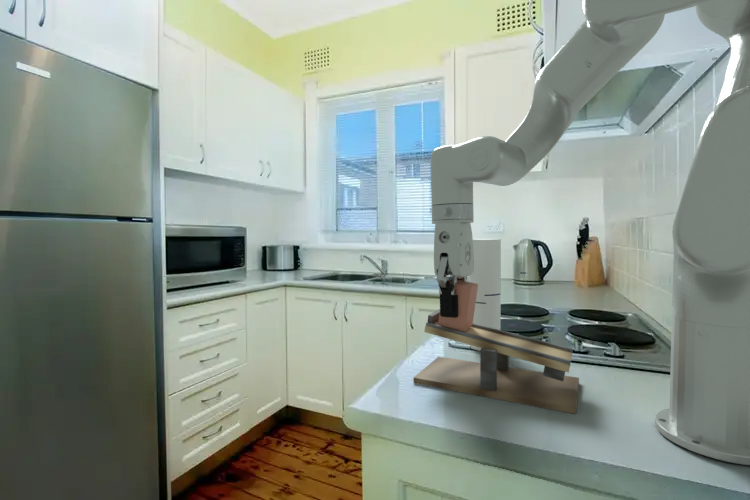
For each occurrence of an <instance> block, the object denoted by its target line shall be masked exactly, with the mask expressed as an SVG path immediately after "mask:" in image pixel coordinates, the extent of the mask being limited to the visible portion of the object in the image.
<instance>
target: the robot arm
mask: <svg viewBox="0 0 750 500" xmlns="http://www.w3.org/2000/svg"><path fill="white" fill-rule="evenodd" d="M693 7H695V11H696V16H697V18H698V20H699V21H700V23H701V24H702V25H703V26H704V27H706V29H707V30H710V31H711V32H713V33H714V34H716V35H719V36H721V38H723V39H724V40H725V41H726V42H727V43H728V44H729V45H728V46H729V48H730V57H729V60H728V62H727V67H726V70H725V73H724V77H723V81H722V82H723V83H722V87H721V89H720V92H719V94H718V98H717V99H718V100H717V102H716V104H715V107H714V108H713V109H712V110H711V112H709V114H708V116H707V117H706V119H705V121H704V123H703V126H702V128H701V132H700V134H699V137H698V138H699V139H698V141H697V145H696V148H695V152H694V155H693V159H692V162H691V164H690V168H689V171H688V174H687V178H686V182H685V183H684V188H683V191H682V194H681V199H680V201H679V204H678V208H677V211H676V214H675V217H674V220H673V225H672V242H673V243H672V244H673V260H672V261H673V263H672V264H673V265H672V266H673V267H672V268H673V269H672V270H673V272H672V274H673V275H672V303H671V305H672V307H671V308H672V309H671V330H670V331H671V336H670V337H671V341H670V374H669V375H670V376H669V377H670V378H669V407H668V408H667V409H663V410H660V411H658V412H657V413H656V414H655V416H654V417H655V419H654V425H655V428H656V429H657V430H658V432H659V433H660V434H661V435H662V436H663V437H665V438H666V439H668V440H669V441H671V442H672V443H674V444H676V445H678V446H680V447H681V448H684V449H686V450H688V451H691V452H694V453H696V454H699V455H701V456H703V457H704V456H705V457H707V458H710V459H711V458H712V459H714V460H718V461H722V462H727V463H732V464H737V465H742V466H743V465H744V466H750V0H582V11H583V15H584V17H585V20H584V22H582V23H581V25H580V26H579V27H578V28H577V29H576V30H575V32H574V33H573V34H572V35H571V36H570V37H569V38H568V39H567V40H566V41H565V43H564V44H563V45H562V46H561V47H560V48H559V49H558V50H557V51H556V53H555V54H554V55H553V56H552V57H551V58H550V59H549V60H548V62H547V63H546V64H544V66H542V68H541V69H540V70H539V72H538V74H537V76H536V79H535V81H534V88H533V95H532V101H531V104H530V107H529V110H528V112H527V114H526V116H525V117H524V119H522V121H521V122H520V124H519V126H518V127H517V128H515V130H514V131H513V132H512V133H511V134H510V135H509V136H508V137H507V139H505V140H502V139H500V138H499V137H496V136H490V135H485V136H479V137H476V138H473V139H470V140H468V141H466V142H462V143H459V144H449V145H443V146H440V147H439V146H438V147H436V148H435V149H433V150H432V152H431V154H430V191H431V193H430V195H431V224H432V225H434V224H435V226H434V236H433V238H434V239H433V267H434V268H433V270H434V271H433V272H434V275H435V277H436V281H437V284H438V287H439V289H438V293H439V309H440V316H442V317H453V318H456V317H458V295H456V285H457V280H461V281H466V282H468V277H469V275H471V274H473V272H474V252H473V239H474V238H473V232H472V231H473V230H472V226H471V225H472V223H474V183H481V184H482V183H483V184H488V185H489V184H490V185H494V186H499V187H505V186H506V187H507V186H510V185H513V184H516V183H517V182H518V181H520V180H522V179H523V178H524V177H525V176H526V175H528V173H529V172H531V171H532V170H533V169H534V168H535V167H536V166H537V165H538V164H539V163H540V162H541V161H543V159H544V158H545V157H546V156H548V155H549V153H550V152H551V151H552V150H553V148H554V147H555V146H556V145H557V144H558V142H559V141H560V140H561V138H562V137H563V135H564V134H565V132H566V131H567V130H568V128H569V127H570V126H571V125H572V123H573V122H574V120H575V118H576V117H577V115H578V113H579V112H580V111H581V109H583V107H584V106H585V105H586V104H587V103H589V102H590V100H592V98H594V97H595V96H596V95H597V94H598V93H599V91H600V90H601V89H602V88H604V87H605V85H606V84H608V82H609V81H610V80H612V79H613V78H614V77H615V76H616V74H618V73H619V72H620V70H622V69H624V67H625V66H626V65H627V64H628V63H629V62H630V61H631V60H632V59H633V58H634V57H635V56H637V54H638V53H639V52H640V51H642V49H643V48H645V46H646V45H647V44H648V43H649V42H650V41H651V40H652V39H653V38H654V37H655V35H656V34H657V33H658V31H659V30H660V28H661V27H662V24H663V22H664V20H665V17H666V16H665V15H666V14H667V15H668V14H671V13H674V12H678V11H679V12H680V11H682V10H686V9H691V8H693ZM450 281H452V286H451V283H450Z"/></svg>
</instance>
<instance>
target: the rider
mask: <svg viewBox="0 0 750 500" xmlns="http://www.w3.org/2000/svg"><path fill="white" fill-rule="evenodd" d="M450 283H451V286H452V281H450ZM477 290H478V284H477V283H472V282H469V281H467V282H466V281H461V280H457V285H456V295H458V317H456V318H453V317H442V316H440V314H439V322H438V325H441V326H445V327H449V328H453V329H457V330H461V331H464V332H465V331H466V330H467V329H469V328H470V327H471V326H472V325H473V318H474V311H475V304H476V297H477Z"/></svg>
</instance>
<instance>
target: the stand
mask: <svg viewBox="0 0 750 500" xmlns="http://www.w3.org/2000/svg"><path fill="white" fill-rule="evenodd" d="M479 352H480V353H479V354H480V356H479V357H480V361H479V362H477V361H471V360H463V359H459V358H458V359H456V358H451V357H450V358H449V357H443V356H437V357H436V358H434V360H433V361H431V362H430V363H429V364H428V365H426V367H424V368H423V369H422V370H421V371H419V372H418V373H417V374H416V375H415V376H413V384H417V385H423V386H427V387H433V388H437V389H444V390H449V391H454V392H458V393H465V394H470V395H474V396H479V397H480V396H481V397H484V398H485V397H486V398H491V399H496V400H501V401H506V402H511V403H515V404H516V403H517V404H522V405H527V406H533V407H538V408H542V409H547V410H554V411H559V412H563V413H568V414H573V415H576V414H577V407H578V406H577V405H578V397H579V396H578V395H579V386H580V378H579V377H576V376H569V375H564V380H563V381H560V380H556V379H553V378H549V377H546V376H543V373H544V371H543V372H542V371H538V370H537V371H536V370H528V369H524V368H517V367H510V356H508V355H504V354H501V353H497V350H495V349H487V348H482V349H481V350H480V351H479Z"/></svg>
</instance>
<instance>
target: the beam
mask: <svg viewBox="0 0 750 500" xmlns="http://www.w3.org/2000/svg"><path fill="white" fill-rule="evenodd" d="M439 314H440V308H439V309H437V310H436V311H434V312H432V313H430V314H428V316H427V321H426V323H425V325H424V333H426V334H431V335H433V336H436V337H441V338H445V339H448V340H450V341H451V340H452V341H455V342H459V343H462V344H466V345H468V346H469V345H472V346H476V347H479V348H487V349H495V350H497V353H501V354H504V355H508V356H509V357H512V358H516V359H519V360H522V361H525V362H526V361H527V362H529V363H534V364H536V365H537V364H538V365H540V366H544V368H543V372H544V373H543V376H546V377H549V378H553V379H556V380H560V381H563V380H564V376H566V375H565V374H566V373H568V374H569V372H570V367H571V363H572V356H573V351H574V348H573V347H568V346H564V345H560V344H556V343H553V342H548V341H546V340H540V339H537V338H533V337H529V336H527V335H521V334H517V333H513V332H510V331H507V330H506V331H505V330H502V329H501V330H498V329H494V328H490V327H486V326H482V325H478V324H474V323H473V325H472V326H471V327H470V328H469V329H467V330H466V331H465V332H464V331H461V330H457V329H453V328H449V327H445V326H441V325H438V322H439Z"/></svg>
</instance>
